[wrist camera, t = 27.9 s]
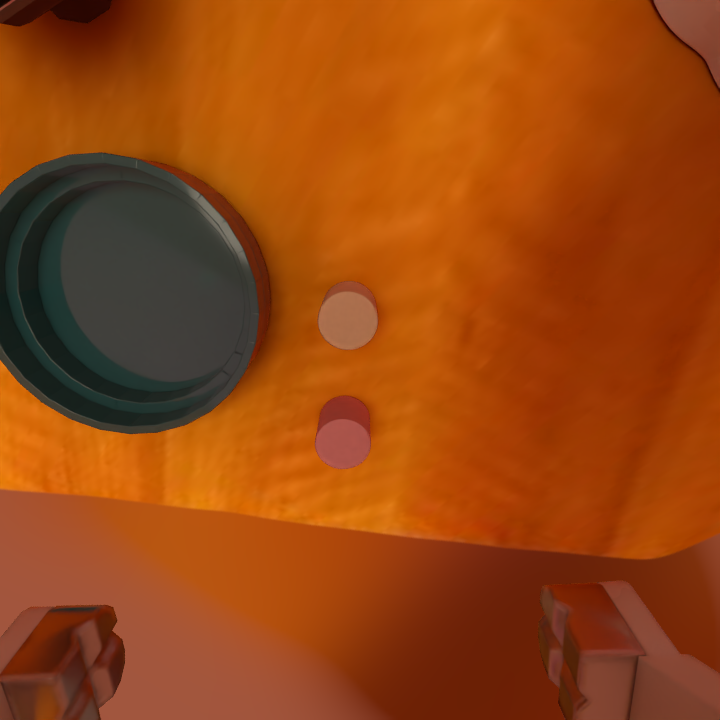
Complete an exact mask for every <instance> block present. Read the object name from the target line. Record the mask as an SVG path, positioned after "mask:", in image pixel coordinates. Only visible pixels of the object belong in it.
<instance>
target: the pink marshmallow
mask: <svg viewBox="0 0 720 720" xmlns="http://www.w3.org/2000/svg"><path fill="white" fill-rule="evenodd" d="M370 447H371V438H370V417H369V412H368V410H367V408H366V406H365V405H364V404H363V403H362V402H361V401H359V400H358V399H356V398H353V397H349V396H340V397H336V398H333V399H331V400H330V401H328V402H327V403H326V404H325V405H324V407H323V408H322V410H321V413H320V418H319V423H318V429H317V434H316V439H315V448H316V451H317V454H318V456H319V457H320V458H321V460H322V461H323V462H325V463H326V464H327V465H329V466H331V467H334V468H338V469H348V468H352V467H355V466H357V465H359V464H360V463H362V462H363V461H364V460H365V459H366V457H367V456H368V454H369V451H370Z"/></svg>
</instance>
